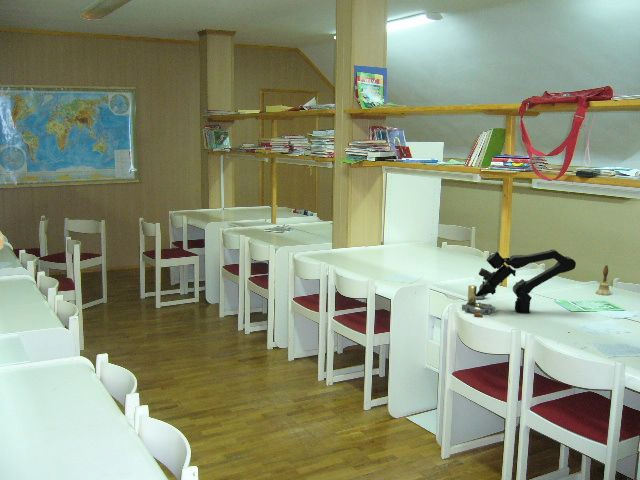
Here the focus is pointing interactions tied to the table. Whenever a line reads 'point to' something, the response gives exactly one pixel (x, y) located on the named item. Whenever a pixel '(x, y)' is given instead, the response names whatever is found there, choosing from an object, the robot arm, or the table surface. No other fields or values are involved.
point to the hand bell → (604, 284)
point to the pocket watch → (482, 295)
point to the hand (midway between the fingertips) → (476, 295)
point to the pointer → (478, 315)
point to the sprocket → (474, 306)
